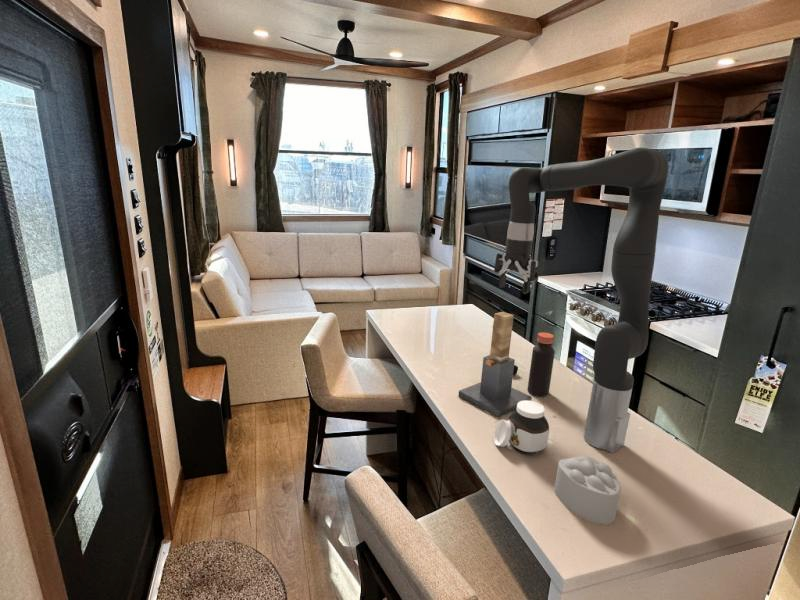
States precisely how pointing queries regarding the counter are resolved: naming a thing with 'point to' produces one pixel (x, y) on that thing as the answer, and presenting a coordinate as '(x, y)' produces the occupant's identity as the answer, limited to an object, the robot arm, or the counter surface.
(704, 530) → the counter surface
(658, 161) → the robot arm
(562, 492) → the lumpy-topped squat cylinder
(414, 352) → the counter surface
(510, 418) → the spread jar
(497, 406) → the metal sleeve stand
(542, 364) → the bottle
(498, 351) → the oak post
